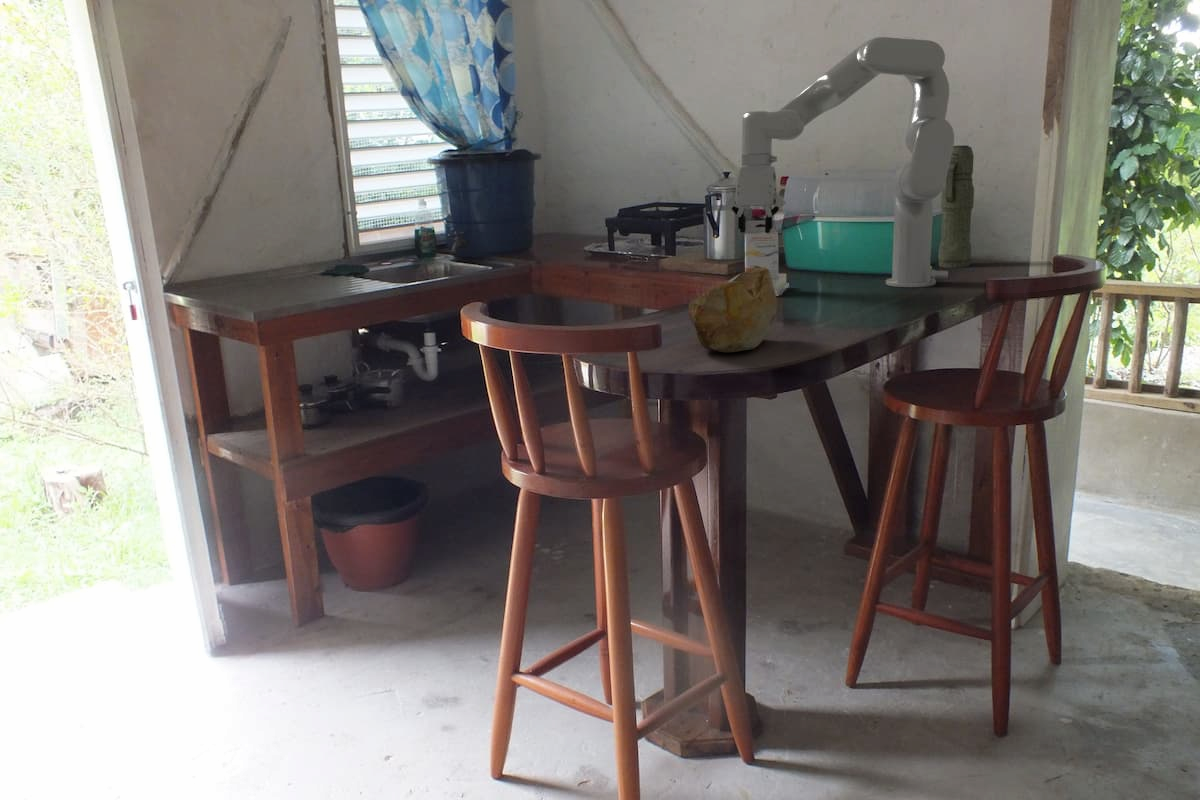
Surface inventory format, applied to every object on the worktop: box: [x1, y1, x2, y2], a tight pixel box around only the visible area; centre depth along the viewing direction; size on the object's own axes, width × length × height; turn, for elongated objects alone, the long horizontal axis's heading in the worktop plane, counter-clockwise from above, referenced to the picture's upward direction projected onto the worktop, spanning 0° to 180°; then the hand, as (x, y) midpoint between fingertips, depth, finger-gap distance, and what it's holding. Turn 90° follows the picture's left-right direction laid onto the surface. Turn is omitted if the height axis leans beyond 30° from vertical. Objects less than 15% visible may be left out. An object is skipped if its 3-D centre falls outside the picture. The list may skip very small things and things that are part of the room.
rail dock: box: [727, 272, 790, 297], centre depth 256 cm, size 14×15×4 cm
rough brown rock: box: [688, 266, 778, 353], centre depth 191 cm, size 23×17×15 cm
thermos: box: [937, 145, 975, 269], centre depth 279 cm, size 9×12×35 cm
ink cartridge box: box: [744, 219, 780, 278], centre depth 254 cm, size 9×5×15 cm, turn 86°
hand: (755, 231), depth 253 cm, fingers closed on ink cartridge box, 5 cm apart
